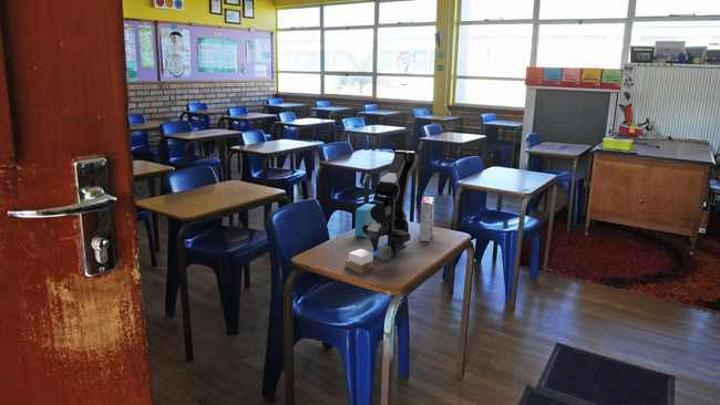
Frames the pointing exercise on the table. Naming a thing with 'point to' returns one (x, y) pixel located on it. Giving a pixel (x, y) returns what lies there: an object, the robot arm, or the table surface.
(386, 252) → the spool
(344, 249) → the table surface
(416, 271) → the table surface
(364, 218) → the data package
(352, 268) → the bottom block
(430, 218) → the candy bar box
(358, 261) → the top block
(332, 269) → the table surface
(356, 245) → the table surface
